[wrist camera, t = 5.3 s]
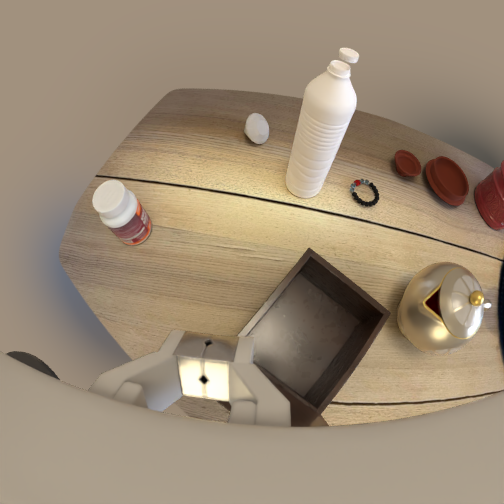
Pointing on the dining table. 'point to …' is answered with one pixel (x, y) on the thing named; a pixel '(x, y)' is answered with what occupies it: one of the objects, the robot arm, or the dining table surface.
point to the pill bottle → (122, 212)
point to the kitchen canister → (492, 198)
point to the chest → (314, 331)
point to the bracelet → (360, 198)
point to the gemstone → (257, 128)
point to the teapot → (441, 308)
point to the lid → (295, 411)
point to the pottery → (436, 176)
